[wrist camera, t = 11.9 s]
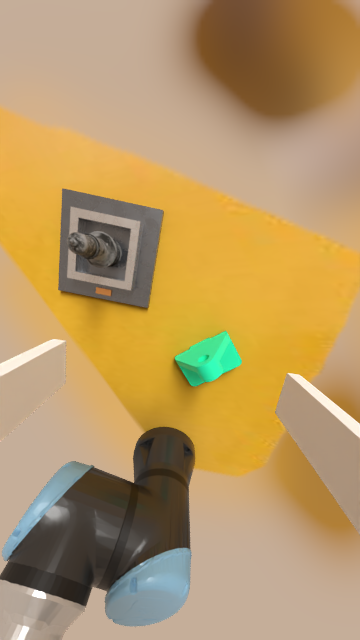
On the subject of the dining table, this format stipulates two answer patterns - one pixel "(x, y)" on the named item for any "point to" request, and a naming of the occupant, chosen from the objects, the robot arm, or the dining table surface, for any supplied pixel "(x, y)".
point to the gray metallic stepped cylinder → (95, 248)
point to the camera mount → (208, 359)
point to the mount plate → (124, 227)
